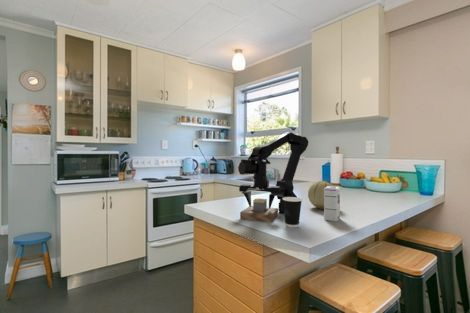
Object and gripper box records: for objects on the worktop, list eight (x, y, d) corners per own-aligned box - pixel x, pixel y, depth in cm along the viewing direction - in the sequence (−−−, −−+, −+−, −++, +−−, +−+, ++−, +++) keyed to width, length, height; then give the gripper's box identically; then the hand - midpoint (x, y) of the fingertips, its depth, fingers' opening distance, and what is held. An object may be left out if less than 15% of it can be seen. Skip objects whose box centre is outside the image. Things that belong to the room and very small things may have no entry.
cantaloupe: (308, 210, 129) (308, 181, 129) (307, 204, 143) (307, 178, 143) (339, 212, 126) (339, 182, 125) (334, 206, 140) (335, 179, 140)
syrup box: (337, 221, 109) (338, 188, 109) (323, 219, 112) (324, 187, 112) (339, 218, 114) (340, 186, 114) (326, 216, 117) (326, 185, 117)
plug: (266, 216, 118) (266, 199, 118) (263, 218, 113) (263, 201, 113) (256, 215, 120) (256, 198, 119) (253, 217, 115) (253, 200, 115)
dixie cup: (303, 224, 105) (303, 197, 105) (300, 229, 98) (300, 201, 98) (284, 221, 108) (285, 196, 108) (280, 226, 101) (280, 199, 101)
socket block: (277, 214, 120) (278, 208, 120) (270, 222, 107) (271, 215, 107) (250, 211, 125) (250, 205, 125) (240, 218, 112) (240, 212, 112)
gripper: (283, 173, 120) (283, 205, 120) (246, 171, 127) (246, 202, 127) (278, 175, 110) (278, 211, 110) (238, 173, 116) (238, 207, 117)
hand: (259, 207), depth 116 cm, fingers open, 9 cm apart
